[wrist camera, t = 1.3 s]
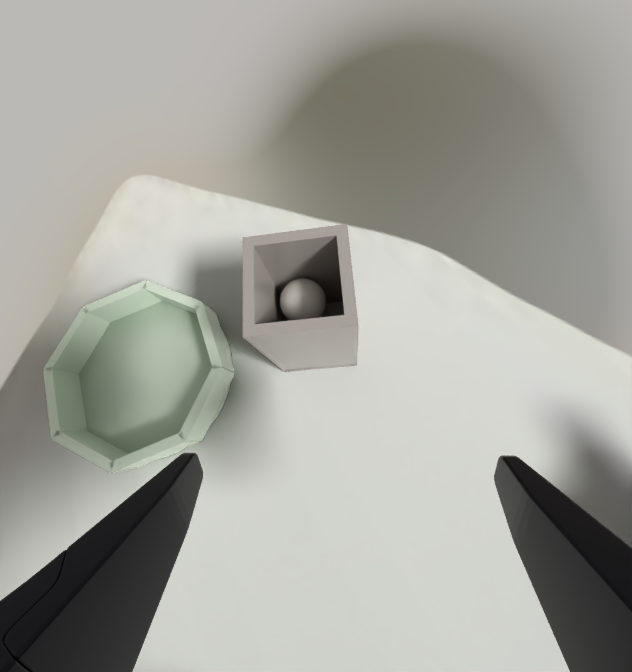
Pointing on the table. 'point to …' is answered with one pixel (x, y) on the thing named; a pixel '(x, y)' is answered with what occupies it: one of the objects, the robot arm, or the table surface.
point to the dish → (137, 377)
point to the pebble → (302, 300)
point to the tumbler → (280, 269)
